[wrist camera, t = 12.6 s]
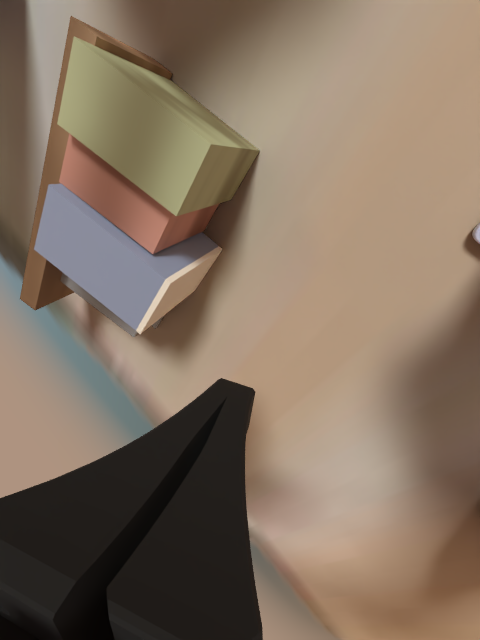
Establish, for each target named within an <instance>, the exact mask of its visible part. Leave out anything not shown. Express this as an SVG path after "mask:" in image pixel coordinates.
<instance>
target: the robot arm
mask: <svg viewBox="0 0 480 640" xmlns="http://www.w3.org/2000/svg"><path fill="white" fill-rule="evenodd" d="M472 235H473V238H474V239H475V241H477V242H478V243H479V244H480V223H479V224H478V225H477V226H476V227H475V228H474V230H473V233H472ZM254 396H255V391H254V389H253V388H250V387H247V386H244V385H241V384H238V383H235V382H232V381H228V380H225V379H222V378H221V379H219V380H217V381H216V382H215V383H214V384H213V385H212V386H211V387H209V388H208V389H207V390H206V391H205V392H204V393H202V394H201V395H200V396H199V397H197V398H196V399H195V400H194V401H192V402H191V403H190V404H188V405H187V406H186V407H184V408H183V409H182V410H181V411H179V412H178V413H176V414H175V415H174V416H172V417H171V418H169V419H168V420H166V421H165V422H163V423H162V424H160V425H159V426H157V427H156V428H154V429H153V430H151V431H150V432H148V433H147V434H145V435H143V436H141V437H140V438H138V439H136V440H134V441H133V442H131V443H129V444H127V445H126V446H124V447H122V448H120V449H118V450H116V451H114V452H112V453H110V454H108V455H106V456H104V457H102V458H100V459H98V460H96V461H94V462H92V463H90V464H87V465H85V466H83V467H80V468H78V469H76V470H74V471H71V472H69V473H67V474H64V475H62V476H60V477H57V478H55V479H52V480H50V481H47V482H44V483H41V484H39V485H36V486H33V487H31V488H28V489H25V490H22V491H19V492H17V493H14V494H11V495H8V496H5V497H3V498H0V640H263V638H262V622H261V617H260V611H259V606H258V599H257V593H256V586H255V580H254V572H253V565H252V558H251V550H250V540H249V530H248V521H247V509H246V493H245V441H246V433H247V430H248V427H249V422H250V417H251V412H252V406H253V401H254Z"/></svg>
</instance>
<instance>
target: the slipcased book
mask: <svg viewBox="0 0 480 640" xmlns="http://www.w3.org/2000/svg"><path fill="white" fill-rule="evenodd" d="M34 250H35V251H37V252H38V253H39V254H40V255H42V256H43V257H44V258H45V259H47V260H48V261H49V262H50V263H52V264H53V265H54V266H55V267H57V268H58V269H59V270H60V271H62V272H63V273H64V274H65V275H67V276H68V277H69V278H70V279H72V280H73V281H74V282H75V283H77V284H78V285H79V286H80V287H82V288H83V289H84V290H86V291H87V292H88V293H89V294H91V295H92V296H93V297H94V298H96V299H97V300H98V301H99V302H101V303H102V304H103V305H104V306H106V307H107V308H108V309H109V310H111V311H112V312H113V313H114V314H116V315H117V316H118V317H119V318H121V319H122V320H123V321H124V322H126V323H127V324H128V325H129V326H131V327H132V328H133V329H134V330H136V331H137V332H138V333H139V334H141V333H143V332H144V331H145V330H146V329H148V328H149V327H150V326H151V325H153V324H154V323H155V322H156V321H158V320H159V319H160V318H161V317H162V316H164V315H165V314H166V313H167V312H169V311H170V310H171V309H172V308H174V307H175V306H176V305H177V304H179V303H180V302H181V301H182V300H184V299H185V298H186V297H187V296H189V295H190V294H191V293H192V292H194V291H195V290H196V288H197V287H198V285H199V284H200V282H201V281H202V279H203V278H204V276H205V275H206V273H207V272H208V270H209V269H210V267H211V266H212V264H213V263H214V261H215V260H216V258H217V257H218V255H219V254H220V252H221V251H222V248H221V247H219V246H218V245H217V244H216V243H215V242H213V241H212V240H211V239H210V238H208V237H207V236H206V235H205V234H204V233H202V232H201V233H198V234H196V235H194V236H192V237H190V238H187V239H185V240H183V241H181V242H179V243H176V244H174V245H172V246H170V247H168V248H165V249H163V250H161V251H159V252H157V253H154V254H152V253H150V252H149V251H148V250H147V249H145V248H144V247H143V246H141V245H140V244H139V243H138V242H136V241H135V240H134V239H132V238H131V237H130V236H128V235H127V234H126V233H125V232H123V231H122V230H121V229H119V228H118V227H117V226H116V225H114V224H113V223H112V222H110V221H109V220H108V219H107V218H105V217H104V216H103V215H101V214H100V213H99V212H97V211H96V210H95V209H94V208H92V207H91V206H90V205H88V204H87V203H86V202H85V201H83V200H82V199H81V198H79V197H78V196H77V195H75V194H74V193H73V192H72V191H70V190H69V189H68V188H66V187H65V186H64V185H63V184H49V185H48V189H47V194H46V198H45V203H44V207H43V212H42V216H41V220H40V225H39V229H38V234H37V238H36V243H35V247H34Z"/></svg>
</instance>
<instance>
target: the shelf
mask: <svg viewBox="0 0 480 640" xmlns="http://www.w3.org/2000/svg"><path fill="white" fill-rule="evenodd" d="M171 76H172V73H171V72H170V71H168V70H167V69H166V68H165V67H163V66H162V65H161V64H160V63H158V62H157V61H156V60H155V59H153V58H151V57H149V56H147V55H145V54H143V53H141V52H139V51H137V50H136V49H134V48H132V47H130V46H128V45H126V44H124V43H122V42H120V41H118V40H116V39H114V38H113V37H111V36H109V35H107V34H105V33H103V32H101V31H99V30H97V29H95V28H93V27H91V26H90V25H88V24H86V23H84V22H82V21H80V20H78V19H76V18H74V17H72V16H71V17H70V23H69V29H68V34H67V40H66V45H65V51H64V56H63V62H62V68H61V73H60V79H59V84H58V90H57V95H56V101H55V107H54V112H53V118H52V123H51V129H50V134H49V140H48V146H47V151H46V157H45V162H44V168H43V173H42V179H41V185H40V190H39V196H38V201H37V207H36V212H35V218H34V224H33V229H32V235H31V240H30V246H29V251H28V257H27V263H26V268H25V274H24V279H23V285H22V291H21V296H20V299H21V300H22V301H23V302H25V303H26V304H27V305H29V306H30V307H31V308H33V309H34V310H37V309H39V308H41V307H44V306H46V305H48V304H50V303H52V302H54V301H57V300H59V299H61V298H63V297H65V296H67V295H69V294H72V293H74V292H75V293H76V294H78V295H79V296H80V297H82V298H83V299H84V300H86V301H87V302H88V303H89V304H91V305H92V306H93V307H95V308H96V309H97V310H99V311H100V312H101V313H103V314H104V315H105V316H107V317H108V318H109V319H110V320H112V321H113V322H114V323H116V324H117V325H118V326H120V327H121V328H122V329H124V330H125V331H126V332H127V333H129V334H130V335H131V336H133V337H135V336H137V335H138V334H139V333H138V332H137V331H136V330H134V329H133V328H132V327H131V326H129V325H128V324H127V323H126V322H124V321H123V320H122V319H121V318H119V317H118V316H117V315H116V314H114V313H113V312H112V311H111V310H109V309H108V308H107V307H106V306H104V305H103V304H102V303H101V302H99V301H98V300H97V299H96V298H94V297H93V296H92V295H91V294H89V293H88V292H87V291H86V290H84V289H83V288H82V287H80V286H79V285H78V284H77V283H75V282H74V281H73V280H72V279H70V278H69V277H68V276H67V275H65V274H64V273H63V272H62V271H60V270H59V269H58V268H57V267H55V266H54V265H53V264H52V263H50V262H49V261H48V260H47V259H45V258H44V257H43V256H42V255H40V254H39V253H38V252H37V251H35V250H34V247H35V243H36V238H37V234H38V229H39V225H40V220H41V216H42V212H43V207H44V203H45V198H46V194H47V189H48V185H49V184H63V185H64V186H65V187H66V188H68V189H69V190H70V191H72V192H73V193H74V194H75V195H77V196H78V197H79V198H81V199H82V200H83V201H85V202H86V203H87V204H88V205H90V206H91V207H92V208H94V209H95V210H96V211H97V212H99V213H100V214H101V215H103V216H104V217H105V218H107V219H108V220H109V221H110V222H112V223H113V224H114V225H116V226H117V227H118V228H119V229H121V230H122V231H123V232H125V233H126V234H127V235H128V236H130V237H131V238H132V239H134V240H135V241H136V242H138V243H139V244H140V245H141V246H143V247H144V248H145V249H147V250H148V251H149V252H150V253H152V254H154V253H157V252H159V251H161V250H163V249H165V248H168V247H170V246H172V245H174V244H176V243H179V242H181V241H183V240H185V239H187V238H190V237H192V236H194V235H196V234H198V233H201V232H203V231H204V230H205V228H206V227H207V225H208V223H209V221H210V219H211V218H212V216H213V214H214V212H215V211H216V209H217V207H218V205H219V203H222V202H226V201H229V200H231V199H232V198H233V196H234V194H235V192H236V191H237V189H238V187H239V185H240V184H241V182H242V180H243V179H244V177H245V175H246V173H247V172H248V170H249V168H250V167H251V165H252V163H253V161H254V160H255V158H256V156H257V154H258V153H259V150H258V149H257V148H256V147H254V146H253V145H252V144H251V143H249V142H248V141H247V140H246V139H244V138H243V137H242V136H241V135H239V134H238V133H237V132H235V131H234V130H233V129H232V128H230V127H229V126H228V125H227V124H225V123H224V122H223V121H222V120H220V119H219V118H218V117H216V116H215V115H214V114H213V113H211V112H210V111H209V110H208V109H206V108H205V107H204V106H203V105H201V104H200V103H199V102H197V101H196V100H195V99H194V98H192V97H191V96H190V95H189V94H187V93H186V92H185V91H184V90H182V89H181V88H180V87H178V86H177V85H176V84H175V83H173V82H172V81H171V80H170V79H171ZM163 317H164V316H162V317H161V318H160V319H159V320H158V321H156V322H155V323H154V324H153V325H151V326H152V327H153V328H155V329H156V328H157V327H158V325H159V324H160V322H161V320H162V318H163Z"/></svg>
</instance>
